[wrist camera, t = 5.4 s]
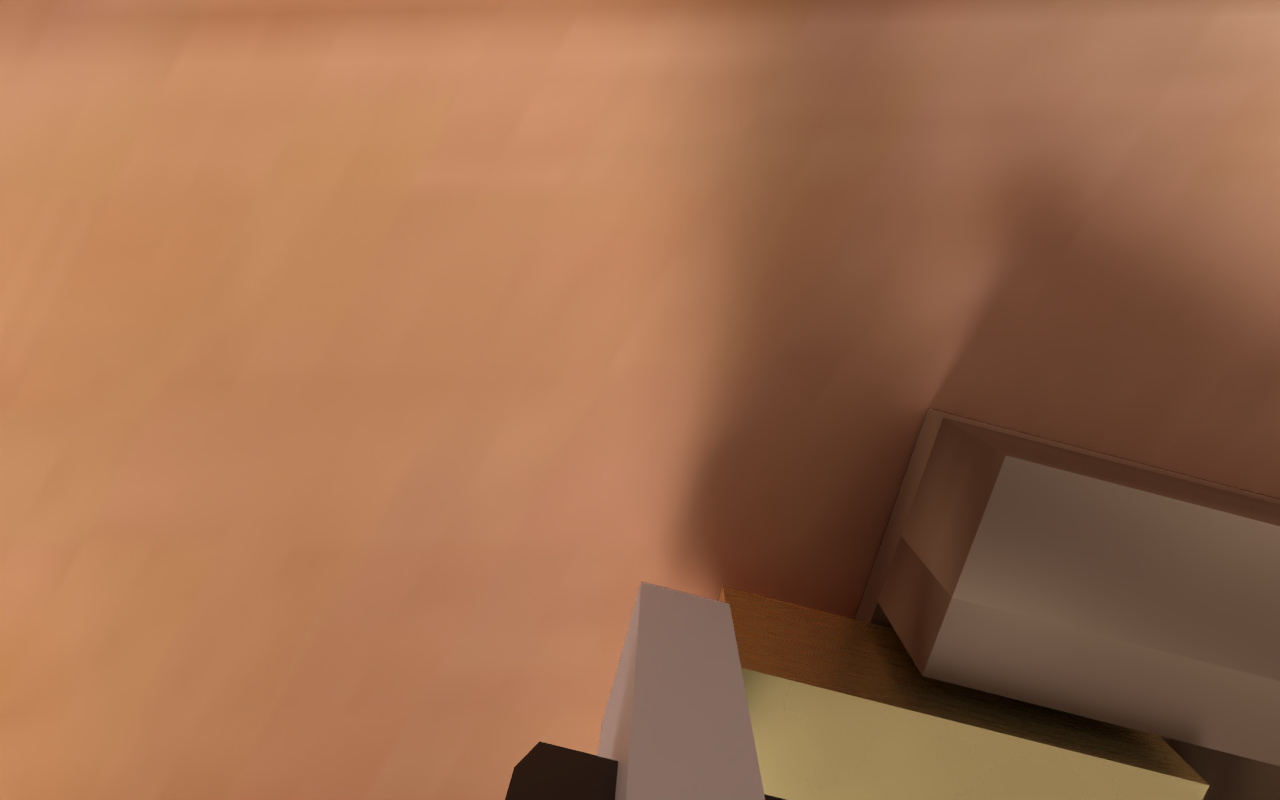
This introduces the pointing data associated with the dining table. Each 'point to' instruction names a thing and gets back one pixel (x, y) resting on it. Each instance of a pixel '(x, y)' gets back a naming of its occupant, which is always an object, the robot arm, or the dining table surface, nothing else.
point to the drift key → (919, 724)
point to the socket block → (1091, 592)
